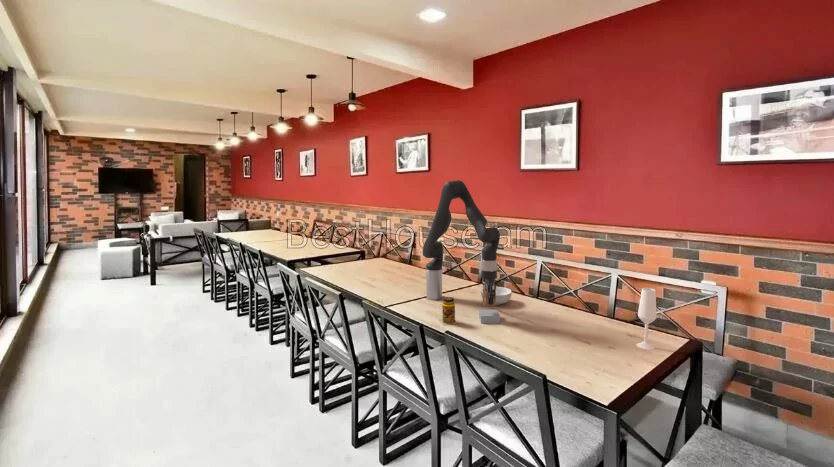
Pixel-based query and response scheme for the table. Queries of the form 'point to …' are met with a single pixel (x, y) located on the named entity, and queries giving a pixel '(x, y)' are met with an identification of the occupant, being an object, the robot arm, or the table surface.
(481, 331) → the table surface
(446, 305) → the condiment
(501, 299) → the cereal bowl
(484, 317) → the slate base
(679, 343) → the table surface
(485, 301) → the walnut block
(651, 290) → the champagne flute
